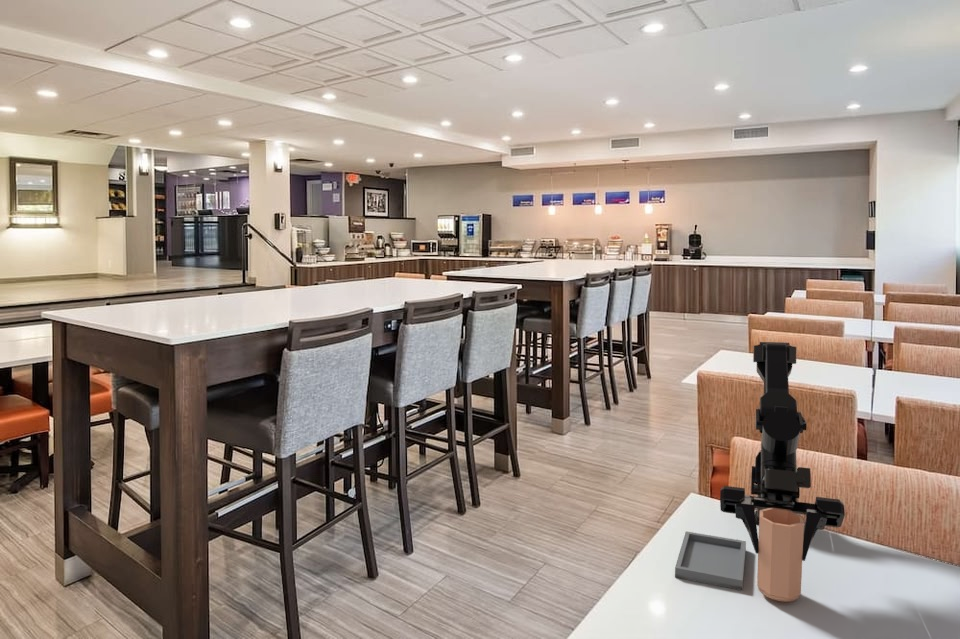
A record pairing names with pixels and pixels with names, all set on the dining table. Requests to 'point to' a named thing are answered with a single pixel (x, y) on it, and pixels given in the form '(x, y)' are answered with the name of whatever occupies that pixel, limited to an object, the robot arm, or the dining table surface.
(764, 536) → the cup
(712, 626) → the dining table surface
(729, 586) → the tray
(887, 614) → the dining table surface
